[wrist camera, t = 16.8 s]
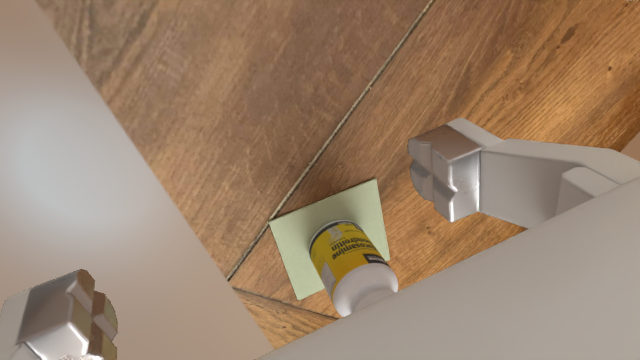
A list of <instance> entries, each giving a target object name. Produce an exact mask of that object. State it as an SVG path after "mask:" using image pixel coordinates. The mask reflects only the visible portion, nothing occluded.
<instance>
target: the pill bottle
mask: <svg viewBox="0 0 640 360" xmlns="http://www.w3.org/2000/svg"><path fill="white" fill-rule="evenodd" d="M309 256H310V259H311V261H312V263H313V265H314V267H315V269H316V271H317V273H318V275H319V277H320V279H321V281H322V283H323V285H324V287H325V289H326V291H327V293H328V295H329V297H330V299H331V301H332V303H333V304H334V306H335V308H336V310H337V311H338V313H339V314H340V315H341V316H343V317H345V316H347V315H349V314H351V313H353V312H355V311H357V310H359V309H362V308H364V307H366V306H368V305H370V304H372V303H374V302H376V301H378V300H380V299H383V298H385V297H387V296H389V295H391V294H393V293H395V292H397V290H398V282H397V278H396V275H395V273H394V272H393V270H392V269H391V268H390V266H389V265H388V264H387V262H386V261H385V260H384V258H383V257H382V255H381V254H380V253H379V251H378V250H377V249H376V247H375V246H374V245H373V243H372V242H371V241H370V239H369V238H368V237H367V235H366V234H365V232H364V231H363V230H362V229H361V227H360V226H359V225H357V224H356V223H354V222H352V221H349V220H336V221H333V222H330V223H328V224H326V225H324V226H323V227H321V228H320V229H319V230H318V231H317V232H316V233H315V235H314V236H313V238H312V239H311V242H310V245H309Z"/></svg>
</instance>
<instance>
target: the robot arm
mask: <svg viewBox="0 0 640 360" xmlns="http://www.w3.org/2000/svg"><path fill="white" fill-rule="evenodd" d="M407 147H408V154H409V155H410V156H411V157H412V158H414V160H413V162H412V164H411V166H410V176H411V180H412V183H413V185H414V188H415V189H416V191H417V192H418V193H419V195H420V196H421V197H422V198H424V199H425V200H429V201H433V202H434V206H435V210H437V211H438V212H439V213H440V214H441V215H442V216H443V217H444V218H445V219H447V220H448V221H449V222H450V223H452V222H454V221H456V220H459V219H461V218H464V217H466V216H468V215H471V214H473V213H476V212H478V211H480V213H483V214H486V215H489V216H492V217H495V218H498V219H502V220H505V221H508V222H511V223H514V224H517V225H520V226H523V227H526V228H529V229H528V230H526V231H524V232H522V233H519V234H517V235H515V236H513V237H511V238H509V239H507V240H505V241H503V242H501V243H499V244H497V245H494V246H492V247H490V248H488V249H486V250H484V251H482V252H480V253H478V254H475V255H473V256H471V257H469V258H467V259H465V260H463V261H461V262H459V263H456V264H454V265H452V266H450V267H448V268H446V269H444V270H442V271H440V272H437V273H435V274H433V275H431V276H429V277H427V278H425V279H423V280H421V281H418V282H416V283H414V284H412V285H410V286H408V287H406V288H404V289H402V290H399V291H397V292H395V293H393V294H391V295H389V296H387V297H385V298H383V299H380V300H378V301H376V302H374V303H372V304H370V305H368V306H366V307H364V308H362V309H359V310H357V311H355V312H353V313H351V314H349V315H347V316H345V317H343V318H341V319H339V320H336V321H334V322H332V323H330V324H328V325H326V326H324V327H322V328H320V329H318V330H315V331H313V332H311V333H309V334H307V335H305V336H303V337H301V338H299V339H297V340H295V341H292V342H290V343H288V344H286V345H284V346H282V347H280V348H278V349H276V350H274V351H271V352H269V353H268V354H265V355H263V356H261V357H259V358H257V359H255V360H640V162H639V161H637V160H635V159H632V158H630V157H628V156H626V155H624V154H621V153H619V152H617V151H615V150H613V149H605V148H595V147H586V146H576V145H567V144H557V143H548V142H538V141H529V140H519V139H510V138H509V139H506V140H502V139H500V138H498V137H497V136H495V135H493V134H491V133H490V132H488V131H486V130H484V129H482V128H481V127H479V126H477V125H475V124H473V123H472V122H470V121H468V120H466V119H465V118H457V119H455V120H452V121H450V122H448V123H446V124H443V125H442V126H440V127H437V128H435V129H432V130H430V131H428V132H425V133H423V134H420V135H418V136H416V137H413V138H411V139H409V140H408V145H407ZM94 286H95V280H94V279H93V278H92V276H91V275H90V274H89V273H88V272H87V271H86V270H83V269H80V270H77V271H74V272H72V273H69V274H67V275H64V276H61V277H58V278H56V279H53V280H50V281H48V282H45V283H42V284H40V285H37V286H35V287H33V288H29V289H27V290H24V291H22V292H19V293H17V294H14V295H12V296H10V297H9V298H7V299H6V300H5V302H4V304H3V308H2V310H1V314H0V360H117V348H116V347H115V346H114V344H113V343H112V340H113V339H114V337H115V336H116V334H117V333H118V330H117V328H118V326H117V325H118V324H117V323H118V322H117V318H116V314H115V310H114V308H113V306H112V304H111V302H110V300H109V299H108V298H107V296H106V295H105V294H104V293H100V292H97V291H94Z"/></svg>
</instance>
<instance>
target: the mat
mask: <svg viewBox="0 0 640 360" xmlns="http://www.w3.org/2000/svg"><path fill="white" fill-rule="evenodd" d="M336 220H349V221H352V222H354V223H356V224H357V225H359V226H360V227H361V229H362V230H363V231H364V232H365V234H366V235H367V237H368V238H369V239H370V241H371V242H372V243H373V245H374V246H375V247H376V249H377V250H378V251H379V253H380V254H381V255H382V257H383V258H384V260H385V261H387V260H390V256H389V250H388V244H387V239H386V233H385V227H384V221H383V216H382V210H381V204H380V198H379V193H378V187H377V181H376V178H374V179H372V180H369V181H367V182H364V183H362V184H359V185H357V186H354V187H352V188H350V189H347V190H345V191H342V192H340V193H337V194H335V195H332V196H330V197H327V198H325V199H323V200H320V201H318V202H315V203H313V204H310V205H308V206H305V207H303V208H300V209H298V210H295V211H293V212H291V213H288V214H286V215H283V216H281V217H278V218H276V219H273V220H271V221H268V222H269V225H270V228H271V230H272V233H273V236H274V238H275V241H276V244H277V246H278V249H279V252H280V254H281V257H282V260H283V262H284V265H285V268H286V270H287V273H288V276H289V278H290V281H291V284H292V286H293V289H294V292H295V294H296V297H297V300H300V299H303V298H305V297H307V296H309V295H311V294H314V293H316V292H318V291H320V290H323V289H325V287H324V285H323V283H322V281H321V279H320V277H319V275H318V273H317V271H316V269H315V267H314V265H313V263H312V261H311V259H310V256H309V245H310V242H311V239H312V238H313V236H314V235H315V233H316V232H317V231H318V230H319V229H320V228H321V227H323V226H324V225H326V224H328V223H330V222H333V221H336Z"/></svg>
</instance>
